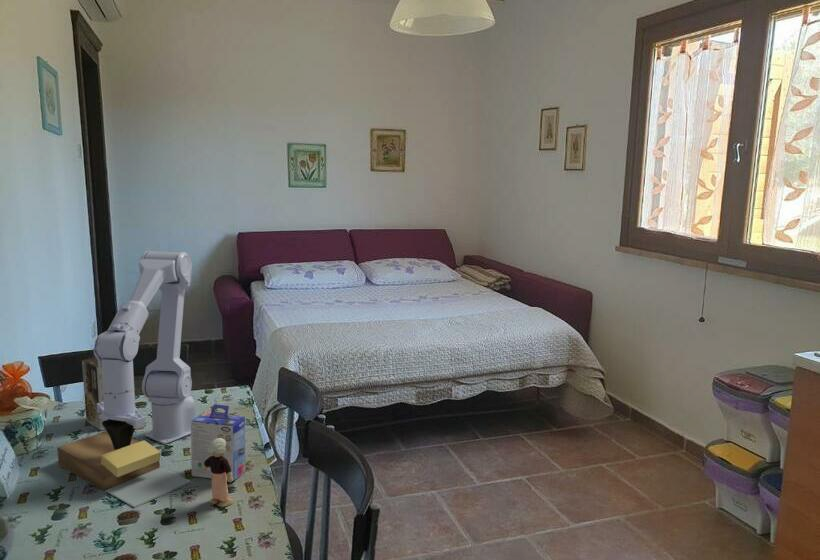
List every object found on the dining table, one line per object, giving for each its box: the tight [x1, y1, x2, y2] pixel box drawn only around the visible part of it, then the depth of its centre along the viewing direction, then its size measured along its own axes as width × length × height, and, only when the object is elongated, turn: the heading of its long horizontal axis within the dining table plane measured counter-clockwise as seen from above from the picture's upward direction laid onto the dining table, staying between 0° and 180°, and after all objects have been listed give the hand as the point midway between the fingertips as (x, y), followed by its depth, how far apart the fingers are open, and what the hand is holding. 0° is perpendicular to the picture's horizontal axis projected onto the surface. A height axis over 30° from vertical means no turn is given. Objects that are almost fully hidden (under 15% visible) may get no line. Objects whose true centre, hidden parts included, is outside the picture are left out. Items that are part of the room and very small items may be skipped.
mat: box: [105, 466, 191, 509], centre depth 119 cm, size 12×10×1 cm
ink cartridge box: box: [190, 403, 247, 482], centre depth 124 cm, size 10×6×14 cm, turn 78°
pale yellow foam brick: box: [101, 439, 162, 477], centre depth 120 cm, size 9×6×2 cm, turn 144°
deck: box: [56, 430, 161, 492], centre depth 127 cm, size 12×18×4 cm, turn 56°
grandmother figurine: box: [203, 438, 234, 508], centre depth 113 cm, size 8×4×13 cm, turn 71°
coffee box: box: [81, 356, 108, 431], centre depth 148 cm, size 9×6×16 cm
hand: (122, 452), depth 123 cm, fingers closed
